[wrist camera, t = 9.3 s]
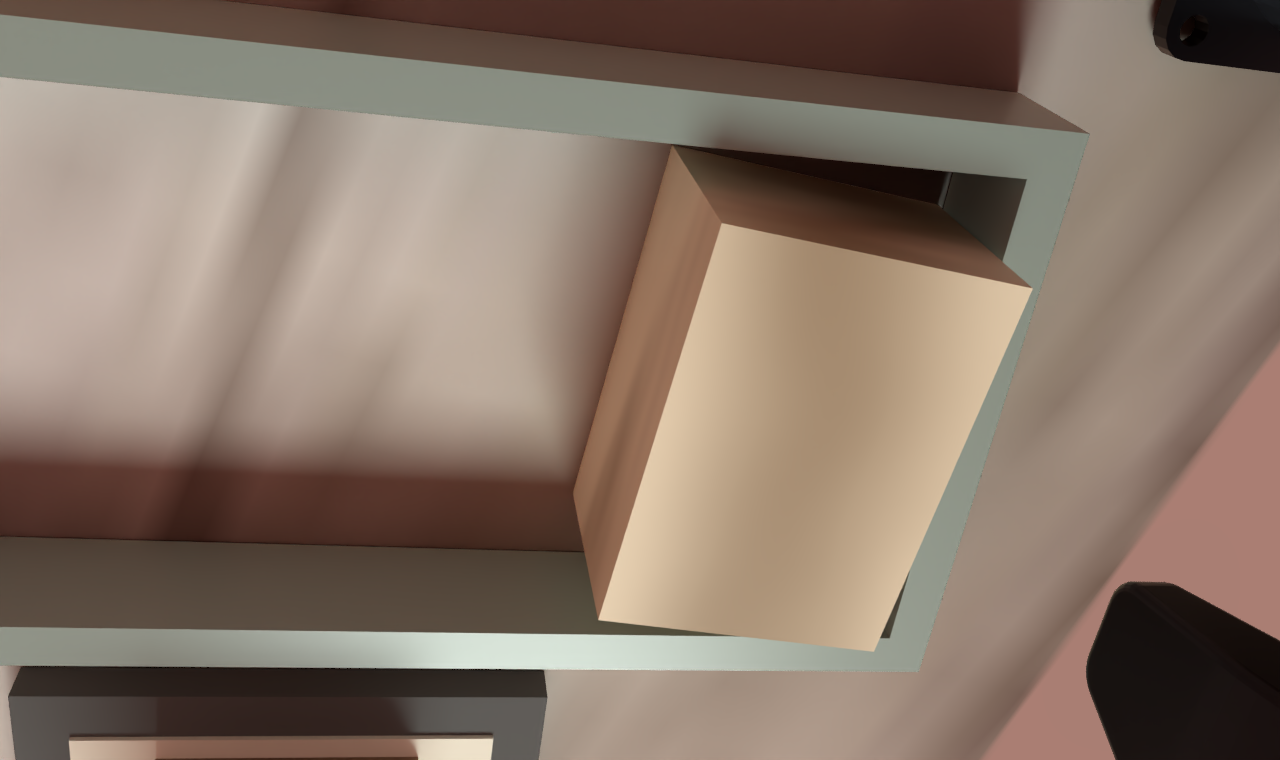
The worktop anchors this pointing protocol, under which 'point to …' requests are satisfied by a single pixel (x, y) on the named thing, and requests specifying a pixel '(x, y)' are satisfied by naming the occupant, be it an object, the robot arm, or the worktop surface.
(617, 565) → the maple box
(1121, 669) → the robot arm
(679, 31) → the worktop surface
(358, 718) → the pad
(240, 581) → the parts bin
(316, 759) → the walnut block
